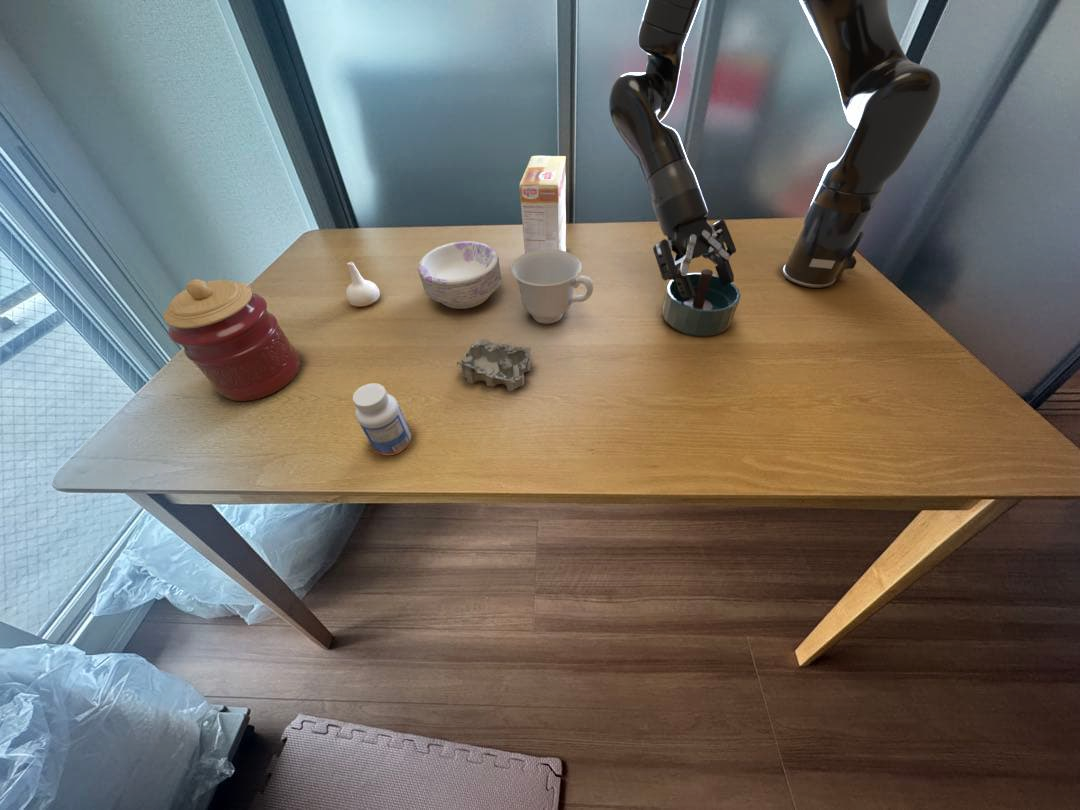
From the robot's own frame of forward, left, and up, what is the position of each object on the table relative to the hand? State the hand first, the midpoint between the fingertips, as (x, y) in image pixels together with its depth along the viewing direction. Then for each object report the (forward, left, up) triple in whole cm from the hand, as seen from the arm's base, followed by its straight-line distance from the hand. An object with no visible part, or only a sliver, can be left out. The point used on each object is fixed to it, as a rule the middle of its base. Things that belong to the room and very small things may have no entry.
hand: (709, 291), depth 70 cm
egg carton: (+37, +6, -6) cm, 38 cm away
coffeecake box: (+23, -25, -6) cm, 35 cm away
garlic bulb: (+61, -21, -6) cm, 65 cm away
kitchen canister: (+76, -2, -6) cm, 77 cm away
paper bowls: (+41, -18, -6) cm, 46 cm away
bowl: (0, -1, -6) cm, 6 cm away
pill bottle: (+53, +17, -6) cm, 56 cm away
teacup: (+25, -7, -6) cm, 27 cm away
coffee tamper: (+1, -1, -5) cm, 6 cm away
